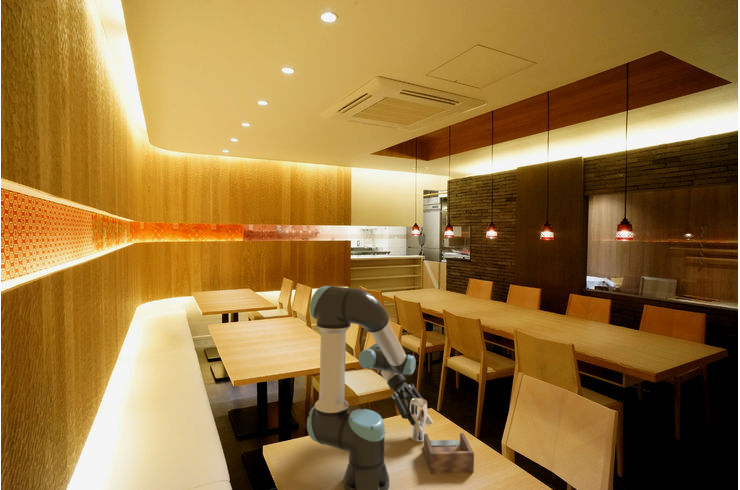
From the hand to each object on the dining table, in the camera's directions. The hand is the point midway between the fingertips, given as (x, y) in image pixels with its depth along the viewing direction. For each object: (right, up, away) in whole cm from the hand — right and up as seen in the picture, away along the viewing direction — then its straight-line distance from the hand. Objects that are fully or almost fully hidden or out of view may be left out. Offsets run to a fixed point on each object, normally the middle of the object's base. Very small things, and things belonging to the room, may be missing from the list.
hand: (425, 427), depth 157 cm
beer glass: (-3, -6, +3) cm, 7 cm away
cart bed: (+6, -6, -11) cm, 14 cm away
